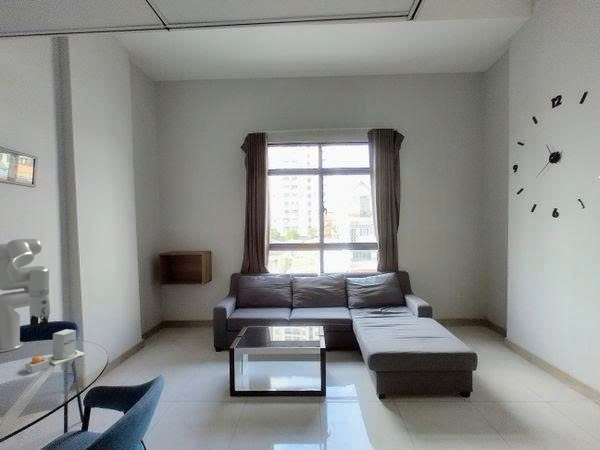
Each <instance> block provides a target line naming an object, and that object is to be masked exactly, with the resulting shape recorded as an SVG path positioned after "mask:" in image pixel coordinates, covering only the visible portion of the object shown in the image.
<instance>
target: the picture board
mask: <svg viewBox="0 0 600 450" xmlns="http://www.w3.org/2000/svg"><path fill="white" fill-rule="evenodd" d="M78 356H81V357H84V356H86V353H85V352H83V351H81V350H80V351H79V350H77V349H76V353H74V354H71V355H69V356H67V357H64V358H57V357H53V353H52V354H49V355H46V356H43V358H45V359H47V360H49V364H52V365H54V366H58V365H62V364H64V363H66V362H69V361H70V362H71V361H72V360H76V359H78V358H77V357H78ZM81 357H80V358H81Z"/></svg>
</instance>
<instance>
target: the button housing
mask: <svg viewBox="0 0 600 450" xmlns="http://www.w3.org/2000/svg"><path fill="white" fill-rule="evenodd" d="M24 364H25V365H24V366H25V369H27V370H29V371H30V372H34V371H37V372H39V371H38V370H40V371H43V370H45V369H48V368H50V363H49V360H47V359H45V358H43V362H40V363H37V364H32V360H30V361H27V362H26V361H25V363H24ZM25 369H24V370H25ZM42 369H43V370H42ZM27 370H26V371H27ZM29 371H28V372H29ZM30 372H29V373H30ZM34 373H35V372H34Z"/></svg>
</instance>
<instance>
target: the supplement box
mask: <svg viewBox="0 0 600 450" xmlns="http://www.w3.org/2000/svg"><path fill="white" fill-rule="evenodd" d="M76 337H77V330H76V329H75V330H74V329H67V328H66V329H63V330H60V331H57V332H54V333H52V354H53V357H57V358H64V357H67V356H69V355H71V354H74V353H76V350H77V346H76V345H77V342H76V341H77V338H76Z"/></svg>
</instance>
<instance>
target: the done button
mask: <svg viewBox="0 0 600 450" xmlns="http://www.w3.org/2000/svg"><path fill="white" fill-rule="evenodd" d="M43 357H44V356H43V355H36V356H34V357H31V361H32V364H37V363H40V362H43Z"/></svg>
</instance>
